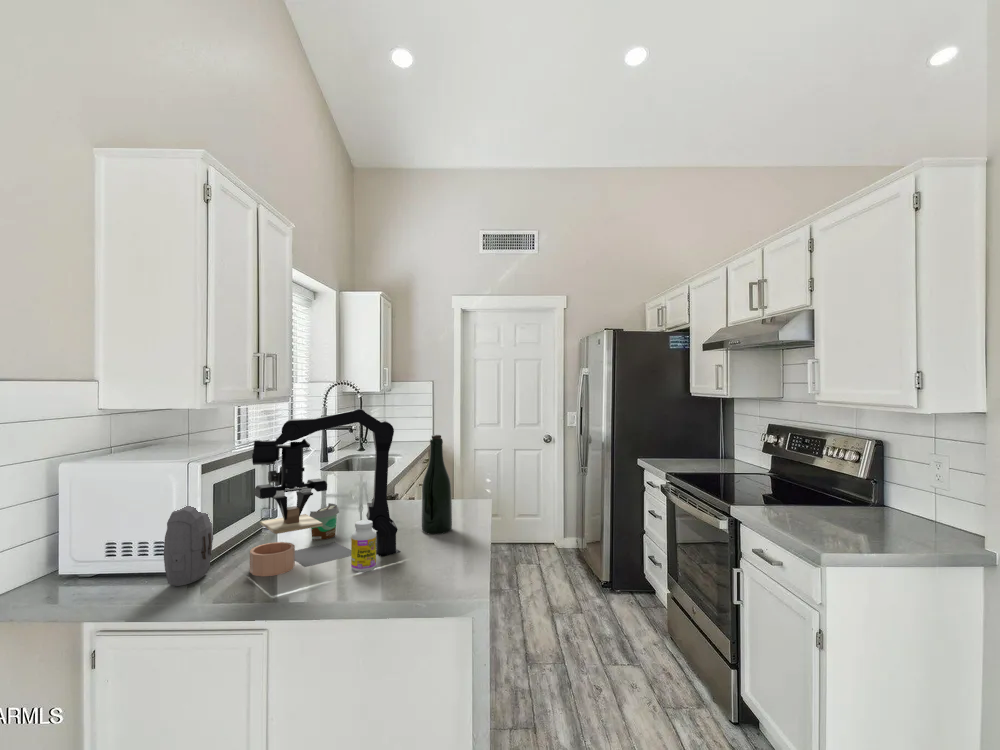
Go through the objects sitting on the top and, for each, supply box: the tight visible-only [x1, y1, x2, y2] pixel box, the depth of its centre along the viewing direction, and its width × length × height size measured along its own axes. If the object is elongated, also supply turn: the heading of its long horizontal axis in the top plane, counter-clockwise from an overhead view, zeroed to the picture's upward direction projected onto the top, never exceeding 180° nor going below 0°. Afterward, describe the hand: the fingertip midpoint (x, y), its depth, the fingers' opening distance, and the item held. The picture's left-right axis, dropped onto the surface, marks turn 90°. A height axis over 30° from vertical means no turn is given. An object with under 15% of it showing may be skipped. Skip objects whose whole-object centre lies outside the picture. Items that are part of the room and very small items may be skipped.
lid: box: [259, 505, 323, 535], centre depth 149 cm, size 13×13×5 cm
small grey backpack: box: [163, 505, 214, 587], centre depth 137 cm, size 15×8×20 cm, turn 3°
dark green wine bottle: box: [421, 434, 453, 535], centre depth 181 cm, size 10×10×33 cm
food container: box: [309, 502, 340, 541], centre depth 174 cm, size 12×6×10 cm, turn 168°
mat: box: [295, 541, 351, 568], centre depth 157 cm, size 16×16×1 cm
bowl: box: [249, 541, 296, 577], centre depth 144 cm, size 11×11×6 cm
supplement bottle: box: [350, 519, 377, 573], centre depth 145 cm, size 7×7×13 cm
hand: (291, 518), depth 149 cm, fingers closed on lid, 3 cm apart
